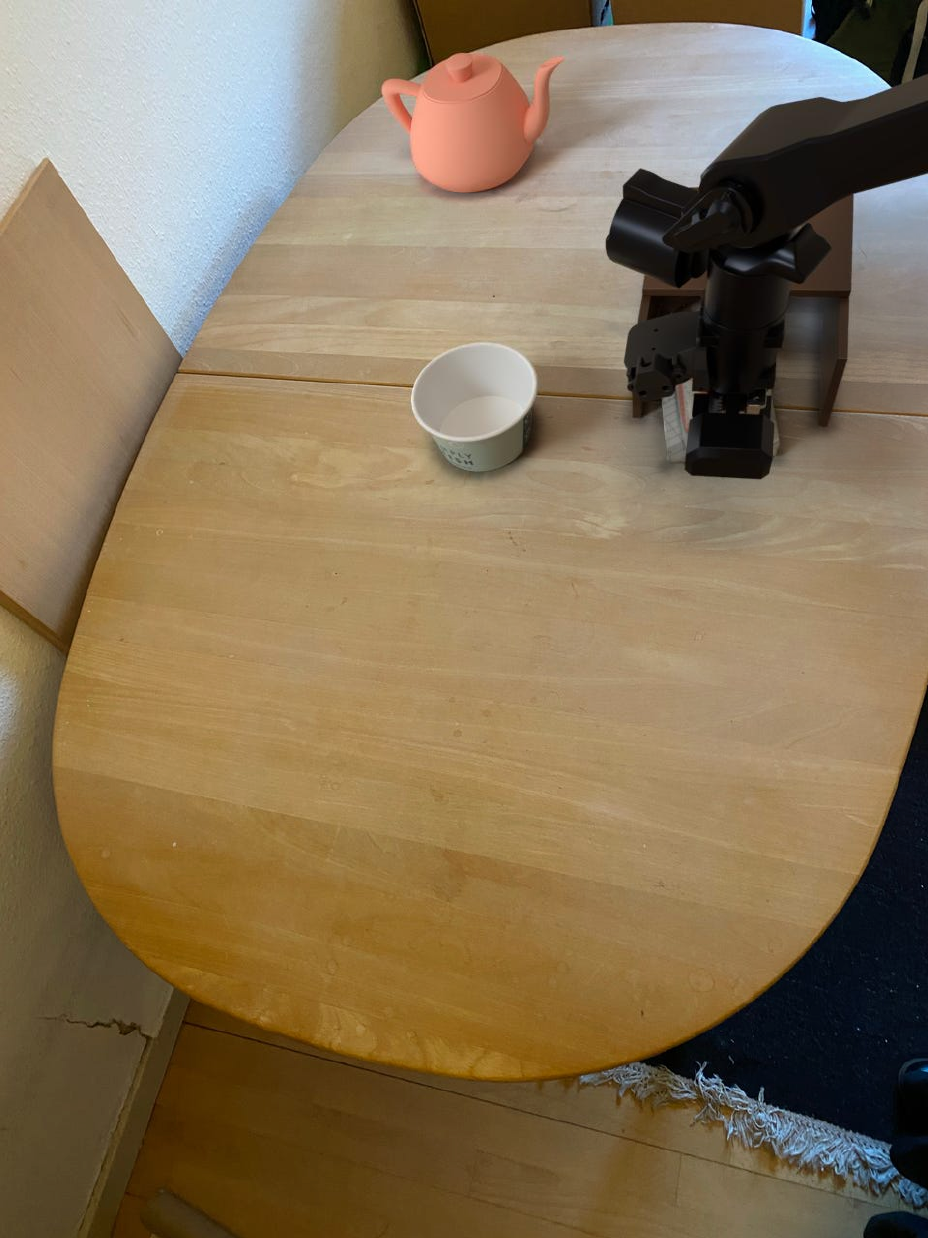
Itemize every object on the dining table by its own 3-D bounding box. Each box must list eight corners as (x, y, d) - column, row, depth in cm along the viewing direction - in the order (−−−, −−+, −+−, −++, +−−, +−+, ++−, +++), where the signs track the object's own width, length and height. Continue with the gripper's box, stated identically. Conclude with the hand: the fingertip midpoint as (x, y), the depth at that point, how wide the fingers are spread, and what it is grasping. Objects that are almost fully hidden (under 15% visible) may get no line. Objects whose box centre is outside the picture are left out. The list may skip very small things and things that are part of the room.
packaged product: (788, 423, 71) (668, 434, 73) (779, 458, 75) (666, 467, 77) (762, 276, 79) (655, 288, 81) (755, 315, 84) (654, 326, 85)
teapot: (583, 122, 103) (577, 14, 92) (557, 204, 97) (547, 98, 86) (417, 124, 109) (393, 23, 98) (383, 202, 103) (353, 103, 92)
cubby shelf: (833, 266, 85) (854, 182, 77) (827, 426, 76) (849, 351, 68) (657, 266, 89) (659, 187, 81) (632, 417, 81) (631, 346, 73)
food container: (405, 463, 83) (387, 420, 78) (460, 376, 87) (447, 329, 82) (511, 498, 79) (502, 454, 73) (564, 404, 83) (559, 356, 77)
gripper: (645, 218, 66) (643, 363, 79) (616, 397, 58) (619, 525, 71) (794, 215, 63) (766, 366, 77) (786, 402, 55) (756, 535, 68)
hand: (724, 444), depth 73 cm, fingers closed
